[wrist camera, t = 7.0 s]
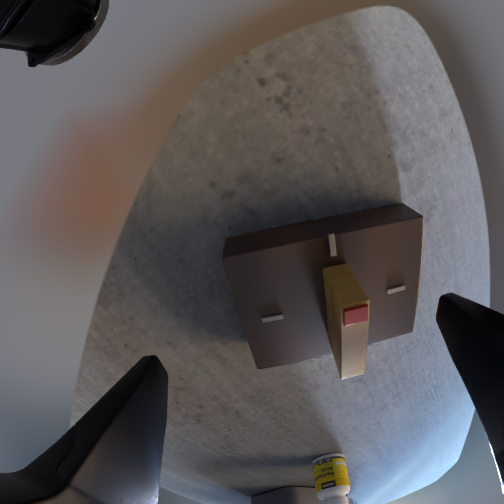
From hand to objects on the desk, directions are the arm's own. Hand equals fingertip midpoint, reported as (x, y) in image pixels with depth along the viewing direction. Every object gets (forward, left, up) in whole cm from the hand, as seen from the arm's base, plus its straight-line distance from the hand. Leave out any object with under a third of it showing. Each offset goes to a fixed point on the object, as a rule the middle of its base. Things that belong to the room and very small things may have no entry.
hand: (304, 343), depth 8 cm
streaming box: (-7, -65, -12) cm, 67 cm away
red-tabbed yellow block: (+3, -6, -9) cm, 11 cm away
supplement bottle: (+2, -42, -12) cm, 44 cm away
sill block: (+3, -6, -12) cm, 14 cm away
